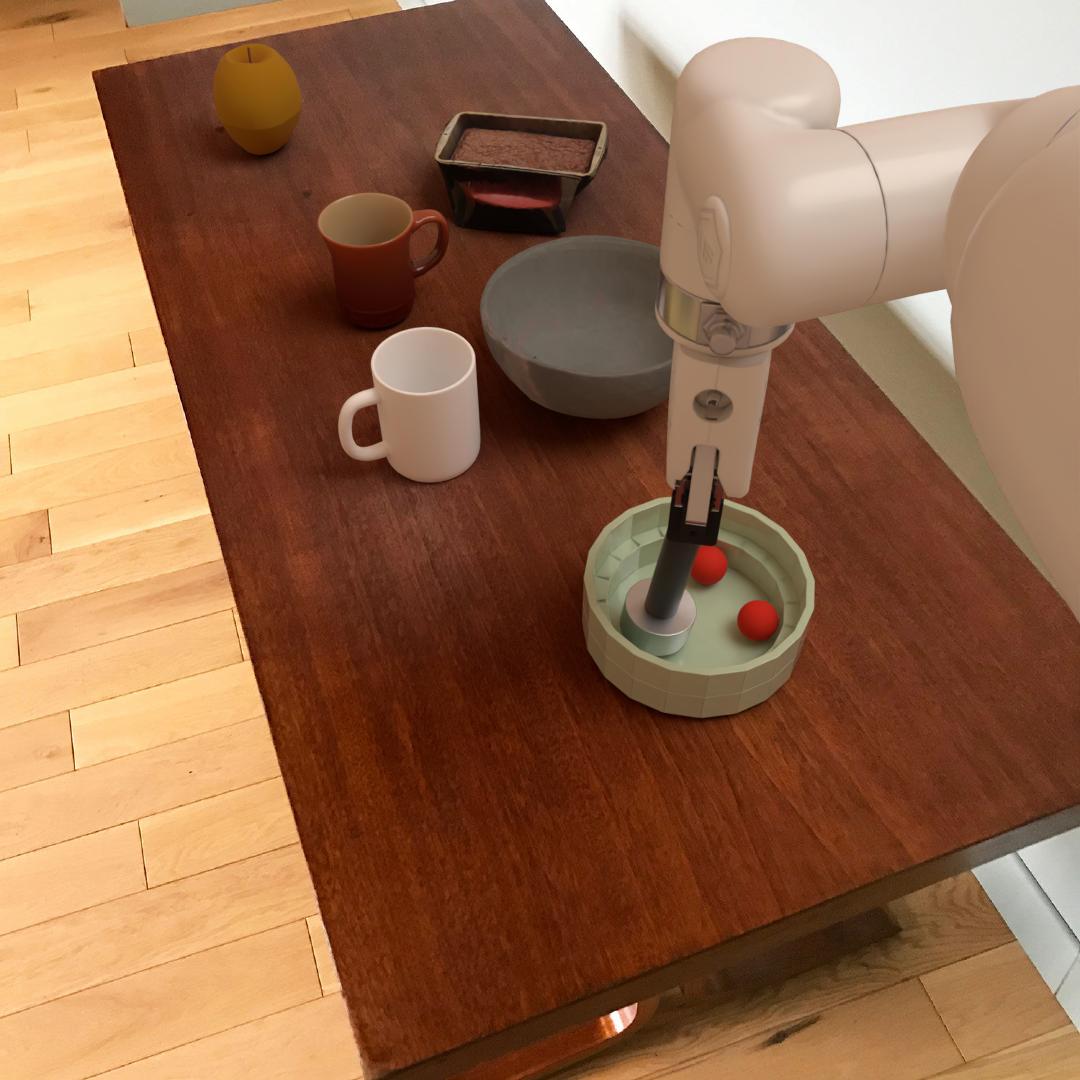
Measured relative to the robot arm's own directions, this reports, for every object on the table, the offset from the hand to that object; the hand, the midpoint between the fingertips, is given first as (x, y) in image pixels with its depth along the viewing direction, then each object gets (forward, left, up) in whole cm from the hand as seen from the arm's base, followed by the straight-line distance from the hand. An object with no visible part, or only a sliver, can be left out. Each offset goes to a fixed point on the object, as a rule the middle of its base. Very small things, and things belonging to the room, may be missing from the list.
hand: (693, 520), depth 73 cm
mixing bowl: (+1, -1, -14) cm, 14 cm away
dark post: (0, +2, -12) cm, 12 cm away
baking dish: (+55, +22, -14) cm, 61 cm away
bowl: (+27, +10, -14) cm, 32 cm away
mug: (+35, +31, -14) cm, 49 cm away
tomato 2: (+1, -6, -12) cm, 13 cm away
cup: (+15, +24, -14) cm, 32 cm away
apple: (+61, +53, -14) cm, 82 cm away
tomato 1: (+6, -2, -12) cm, 13 cm away
